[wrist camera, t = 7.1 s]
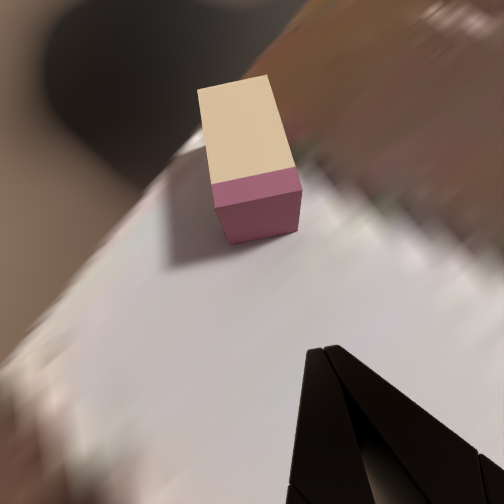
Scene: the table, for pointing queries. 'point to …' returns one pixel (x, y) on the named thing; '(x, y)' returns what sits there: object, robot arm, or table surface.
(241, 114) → the marked block
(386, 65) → the table surface
